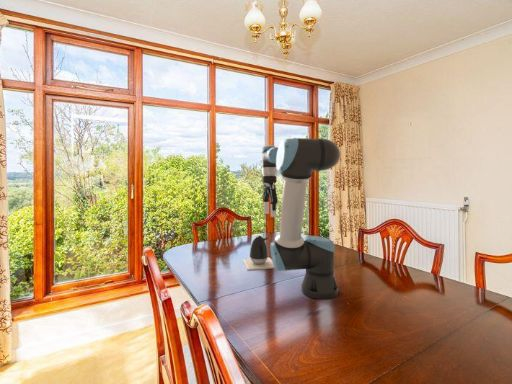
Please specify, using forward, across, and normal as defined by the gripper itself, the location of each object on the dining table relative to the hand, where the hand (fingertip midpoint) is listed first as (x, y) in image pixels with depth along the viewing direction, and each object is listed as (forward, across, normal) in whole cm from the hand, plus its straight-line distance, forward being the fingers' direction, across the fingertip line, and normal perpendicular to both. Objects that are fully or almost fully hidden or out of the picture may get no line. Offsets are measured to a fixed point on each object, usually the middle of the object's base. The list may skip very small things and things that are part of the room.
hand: (269, 215), depth 151 cm
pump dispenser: (+27, +4, +5) cm, 28 cm away
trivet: (+28, +5, +5) cm, 28 cm away
